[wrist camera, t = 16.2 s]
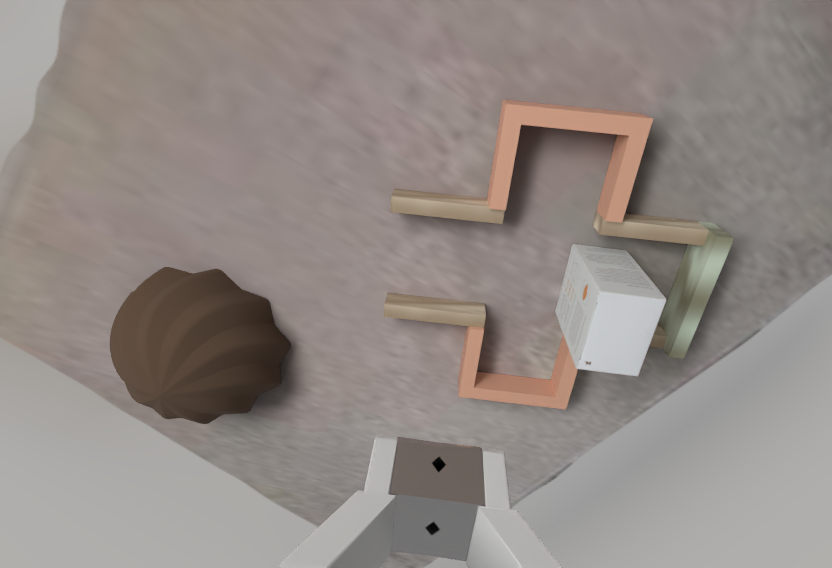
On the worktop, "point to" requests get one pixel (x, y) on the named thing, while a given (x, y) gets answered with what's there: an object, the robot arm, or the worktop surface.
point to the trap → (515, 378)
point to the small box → (607, 310)
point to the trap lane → (695, 269)
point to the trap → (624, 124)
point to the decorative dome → (196, 345)
